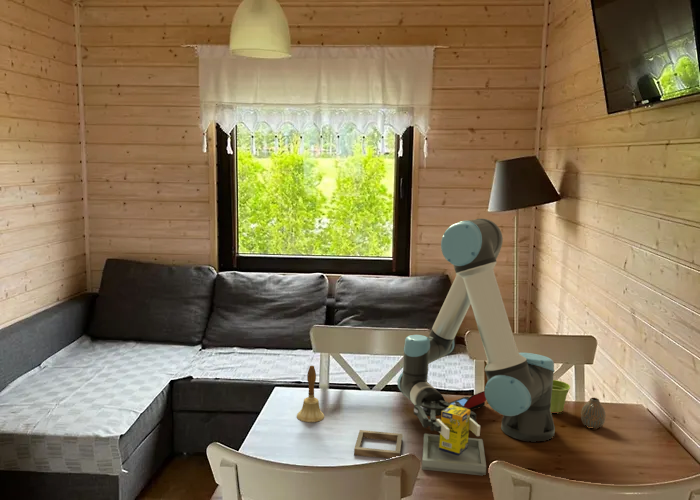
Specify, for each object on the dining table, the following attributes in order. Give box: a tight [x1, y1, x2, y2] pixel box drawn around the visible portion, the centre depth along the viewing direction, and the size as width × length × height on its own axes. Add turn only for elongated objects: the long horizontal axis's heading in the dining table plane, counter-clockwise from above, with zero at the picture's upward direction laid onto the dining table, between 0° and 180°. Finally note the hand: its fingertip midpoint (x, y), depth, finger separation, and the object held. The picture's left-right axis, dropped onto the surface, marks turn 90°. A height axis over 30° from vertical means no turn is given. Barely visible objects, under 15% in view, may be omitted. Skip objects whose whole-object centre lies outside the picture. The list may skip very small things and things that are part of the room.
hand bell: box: [296, 365, 325, 423], centre depth 198 cm, size 8×8×16 cm
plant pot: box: [550, 379, 571, 412], centre depth 211 cm, size 9×9×9 cm
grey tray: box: [421, 433, 487, 476], centre depth 177 cm, size 16×16×2 cm
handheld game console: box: [449, 390, 487, 411], centre depth 210 cm, size 12×11×7 cm
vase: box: [580, 397, 606, 429], centre depth 200 cm, size 7×7×9 cm
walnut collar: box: [353, 429, 403, 460], centre depth 181 cm, size 12×12×2 cm
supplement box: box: [439, 405, 472, 456], centre depth 176 cm, size 6×6×11 cm
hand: (463, 432), depth 171 cm, fingers closed on supplement box, 8 cm apart
